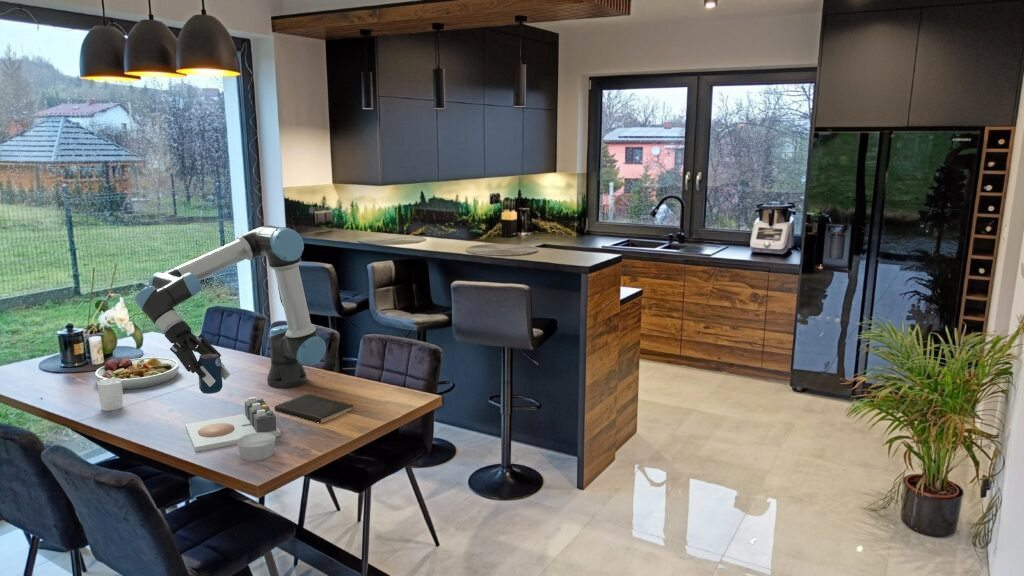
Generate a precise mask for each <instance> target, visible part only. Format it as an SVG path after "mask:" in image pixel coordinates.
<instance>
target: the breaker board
mask: <svg viewBox="0 0 1024 576" xmlns="http://www.w3.org/2000/svg"><path fill="white" fill-rule="evenodd" d="M276 417H277V416H276V414H275V413H274V411H273V410H271V408H270V406H269V404H267V402H266V401H265V400H264V398H263V397H261V398H257V397H256V396H251V397H247V401H244V414H243V413H242V414H238V415H236V414H235V415H230V416H225V417H224V416H223V417H219V418H214V419H208V420H207V419H206V420H202V421H195V422H189V423H185V424H184V425H185V426H184V429H185V428H186V429H185V431H186V433H187V435H188V438H189V440H190V443H191V446H192V447H193V450H194V451H195V452H201V451H206V450H211V449H218V448H223V447H228V446H233V445H237V441H238V440H239V439H240V438H241V437H243V436H245V435H248V434H252V433H270V434H273V435H274V436H275V438H276V437H280V436H282V432H281V430H280V428H279V427H278V425H277V418H276Z"/></svg>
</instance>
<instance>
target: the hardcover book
mask: <svg viewBox="0 0 1024 576" xmlns="http://www.w3.org/2000/svg"><path fill="white" fill-rule="evenodd" d="M353 407H354V405H353V404H348V403H347V402H346V403H345V402H341V401H337V400H334V399H330V398H325V397H322V396H318V395H315V394H311V393H307V394H303V395H301V396H299V397H296V398H292V399H290V400H287V401H284V402H282V403H279V404H276V405H275V406H274V411H275V412H278V411H279V412H278V413H281V412H282V414H285V413H286V414H285V415H288V414H289V416H292V415H293V417H296V416H297V417H296V418H299V417H300V418H299V419H303V418H304V419H303V420H306V419H307V421H310V420H311V422H313V421H315V422H314V423H317V422H319V423H318V424H320V423H321V422H322V423H324V422H323V421H325V420H327V419H329V420H331V419H330V418H332V417H334V418H336V417H335V416H337V415H339V416H341V415H343V414H342V413H344V412H346V413H348V412H347V411H349V410H351V409H352V410H353ZM352 410H351V411H352ZM349 412H350V411H349ZM340 414H341V415H340ZM344 414H345V413H344ZM337 417H338V416H337ZM332 419H333V418H332ZM327 421H328V420H327ZM325 422H326V421H325ZM322 423H321V424H322Z"/></svg>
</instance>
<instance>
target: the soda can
mask: <svg viewBox="0 0 1024 576" xmlns="http://www.w3.org/2000/svg"><path fill="white" fill-rule="evenodd" d="M198 357H199V358H198V359H197V361H198V363H199V365H200V367H201V366H203V367H204V368H205V369H206V370H207V371H208V373H209V374H210V375H211V376H212V377H213V378H214V379H215V382H214V384H213V385H212V386H210V387H209V386H208V385H207V383H206V382H205V381H204V380H203V379H202V378H200V377H199V376H198V385H199V386H198V387H199V390H200V391H201V393H202V394H205V395H211V394H212V395H213V394H217V393H219V392H221V391H222V388H223V386H224V385H223V377H222V369H221V363H222V359H221V356H220V357H219V354H217V353H207V354H202V355H200V354H199V356H198Z"/></svg>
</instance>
